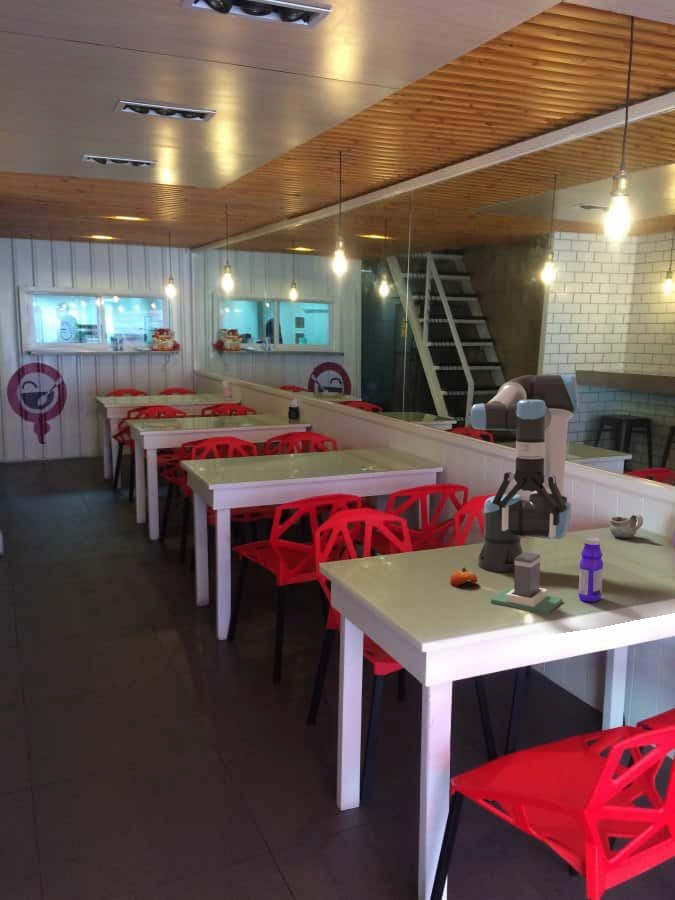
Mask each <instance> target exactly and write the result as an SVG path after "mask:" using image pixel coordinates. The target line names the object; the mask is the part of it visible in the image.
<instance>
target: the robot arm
mask: <svg viewBox="0 0 675 900" xmlns="http://www.w3.org/2000/svg"><path fill="white" fill-rule="evenodd" d="M579 401H580V400H579V389H578V383H577V379H576V378H575V376H573V375H569V374H568V375H566V374H526V375H522V376H518V377H515V378H512V379H511V380H508V381H506V382H505V383H503V384H502V385H501V386H500V387H499V389H498V391H497V393H496V395H495V396H493V398H492V399H490V400H489V401H488V402H487V403H483V402H482V403H475V404H473V406H472V407H471V410H470V425H471V427H472V428H473V429H474V430H480V431H481V430H482V431H511V432H513V431H515V432H516V436H515V437H516V438H515V455H516V457H515V472H514V473H512V472H511V471H507V472H506V473H504V474H503V480H502V483H501V485H500V486H499V488H498V490H497V492H496V494H495V495H492V496H489V497H488V498H486V499H485V501H484V510H483V543H482V546H481V549H480V551H479V555H478V557H477V559H478V560H477V565H478V567H479V568H482V569H483V570H487V571H492V572H498V573H499V572H500V573H511V572H512V573H515V557H517V556H519V555H521V554H522V553H524V551H523V547H522V545H521V544H522V543H521V540H522V539H521V537H527V538H539V539H547V540H562V539H564V538H565V537H566V535H567V533H568V531H569V526H570V522H571V517H572V507H573V505H572V503H570V502H568V496H566V495H565V493H564V491H563V490H564V479H565V469H566V468H565V465H566V452H567V441H568V438H567V436H568V427H569V425H568V424H569V421H570V420H571V419H572V418H573V417H574V412H577V411H579V408H580V407H579V405H580V403H579ZM513 480H514V481H515V482H516V484H515V485H514V486H513V487H512V489H511V490H510V491H508V493H506V491H507V489H508V487H509V485H510V483H511V481H513ZM520 490H522V491H525V492H527V491H529V492H530V493H529V497H528V499H523V497H522V495H521V494H518V493H519V492H520ZM505 493H506V494H505Z"/></svg>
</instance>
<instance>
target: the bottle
mask: <svg viewBox="0 0 675 900" xmlns="http://www.w3.org/2000/svg"><path fill="white" fill-rule="evenodd" d="M580 555H581V559H580V562H579V581H578V598H579V600H581V601H585V602H589V603H594V602H598V601H600V599H601V598H602V595H603V592H602V591H603V571H604V570H603V569H604V563H603V559H602V557H603V552H602V550H601V539H600V538H597V537H595V536H593V537H592V536H591V537H590V536H589V537H585V538H584V546H583V549H582V551H581V552H580Z"/></svg>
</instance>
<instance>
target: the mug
mask: <svg viewBox="0 0 675 900" xmlns="http://www.w3.org/2000/svg"><path fill="white" fill-rule="evenodd" d="M643 523H644V517H643V516H642V515H641V514H639V513H633V514H632V515H630V516H629V517H628V516H627V517H626V516H612V517H610V525H609V526H610V527H609V531H610V533H611V534H612V535H613V536H614V537H617V538H621V539H630V538H632V537H634V536H635V535H636V534H637V530H639V529H640V528H642V526H643V525H644V524H643Z"/></svg>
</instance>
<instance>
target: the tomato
mask: <svg viewBox="0 0 675 900" xmlns="http://www.w3.org/2000/svg"><path fill="white" fill-rule="evenodd" d="M468 581H469V582H470V583H472V584H473V585H475V584H476V583H478V577H477V575H476V573H474V572H472V571H468V570H467V569H466V567H463V568H461V570H456V571H454V572H453V573H452V574H451V577H450V581H449V583H450V584H451V585H452V586H454V587H455V588H458V587H459V586H460V585H461V584H464V583H467V582H468Z"/></svg>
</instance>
